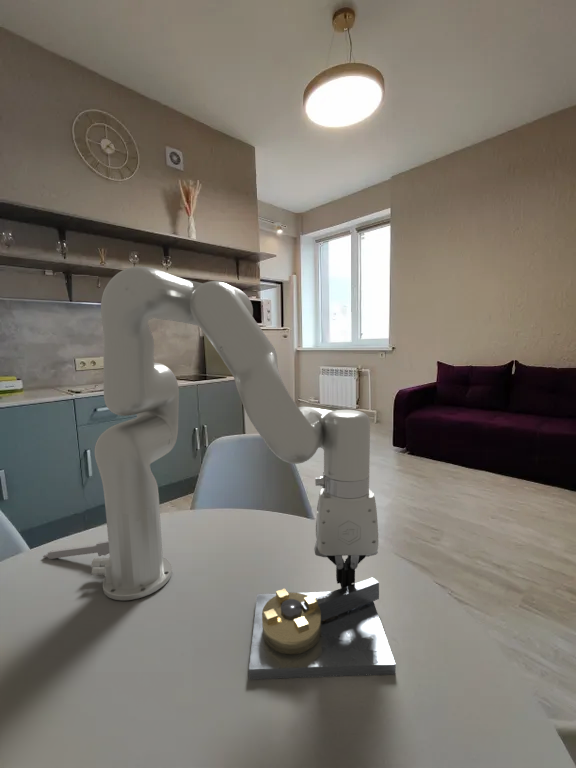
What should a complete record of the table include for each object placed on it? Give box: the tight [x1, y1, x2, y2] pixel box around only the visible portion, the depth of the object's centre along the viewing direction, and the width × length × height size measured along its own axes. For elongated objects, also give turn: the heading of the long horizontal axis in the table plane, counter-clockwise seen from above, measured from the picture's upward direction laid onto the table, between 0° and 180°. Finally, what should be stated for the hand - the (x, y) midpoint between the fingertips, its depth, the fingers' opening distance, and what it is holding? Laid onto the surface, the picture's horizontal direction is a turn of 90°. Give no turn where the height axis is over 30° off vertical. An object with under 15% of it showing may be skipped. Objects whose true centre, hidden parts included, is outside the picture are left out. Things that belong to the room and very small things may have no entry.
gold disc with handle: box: [262, 576, 380, 654], centre depth 58 cm, size 9×20×4 cm, turn 115°
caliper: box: [42, 540, 109, 560], centre depth 78 cm, size 20×1×6 cm, turn 81°
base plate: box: [248, 591, 397, 680], centre depth 57 cm, size 20×15×2 cm
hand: (345, 585), depth 63 cm, fingers closed
